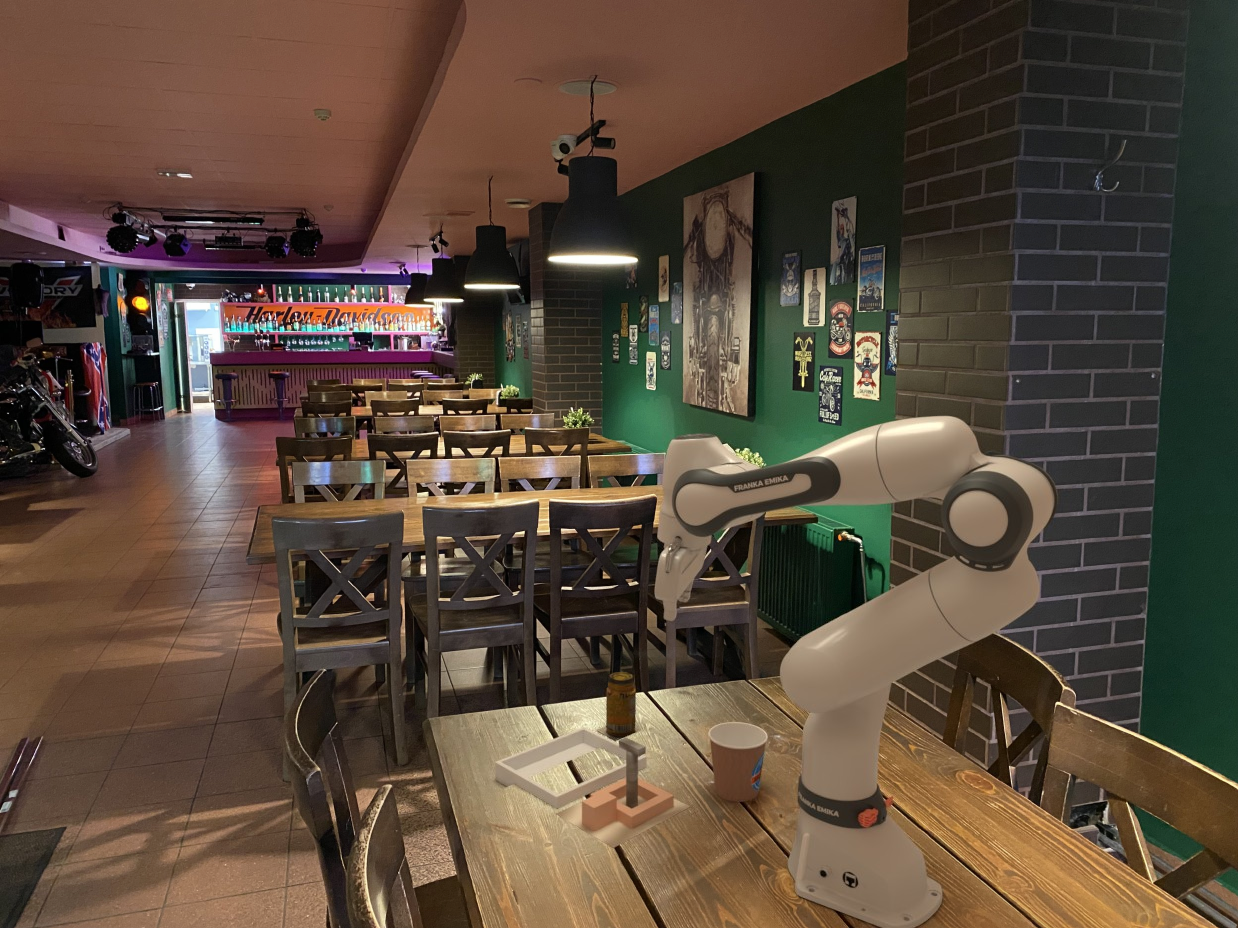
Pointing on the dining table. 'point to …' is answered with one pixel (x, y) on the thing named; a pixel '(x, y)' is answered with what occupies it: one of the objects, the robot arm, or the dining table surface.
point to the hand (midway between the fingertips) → (676, 609)
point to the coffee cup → (737, 759)
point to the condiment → (620, 706)
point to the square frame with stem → (607, 808)
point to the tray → (555, 754)
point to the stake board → (617, 830)
